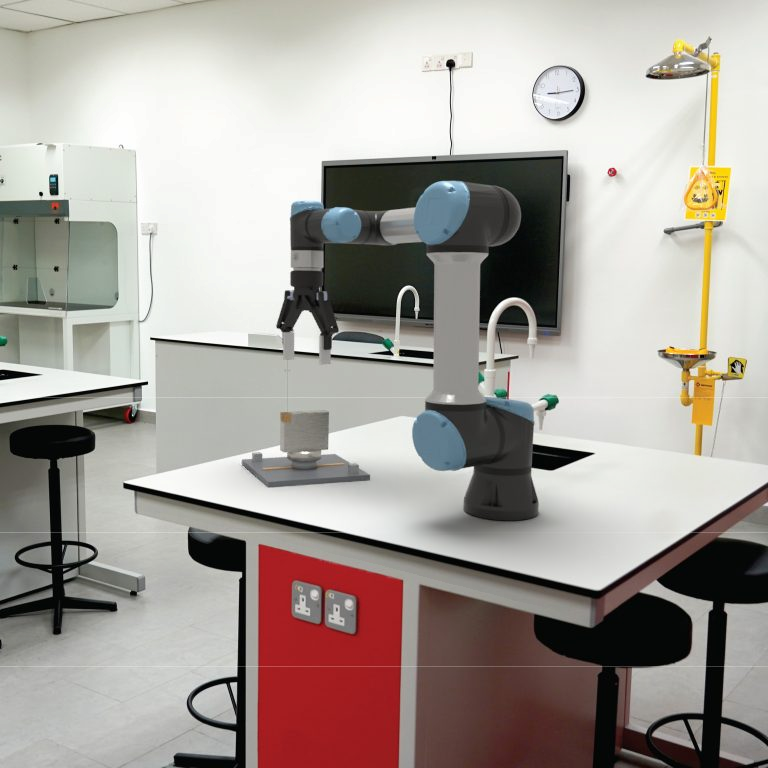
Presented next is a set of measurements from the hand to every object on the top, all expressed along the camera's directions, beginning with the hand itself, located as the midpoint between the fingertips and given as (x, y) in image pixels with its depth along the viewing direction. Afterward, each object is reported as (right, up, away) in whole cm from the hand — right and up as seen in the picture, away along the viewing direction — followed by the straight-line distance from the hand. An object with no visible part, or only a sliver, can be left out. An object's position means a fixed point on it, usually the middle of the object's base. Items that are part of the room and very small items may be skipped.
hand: (306, 362), depth 210 cm
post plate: (-1, -26, +4) cm, 26 cm away
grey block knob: (-1, -23, +3) cm, 23 cm away
